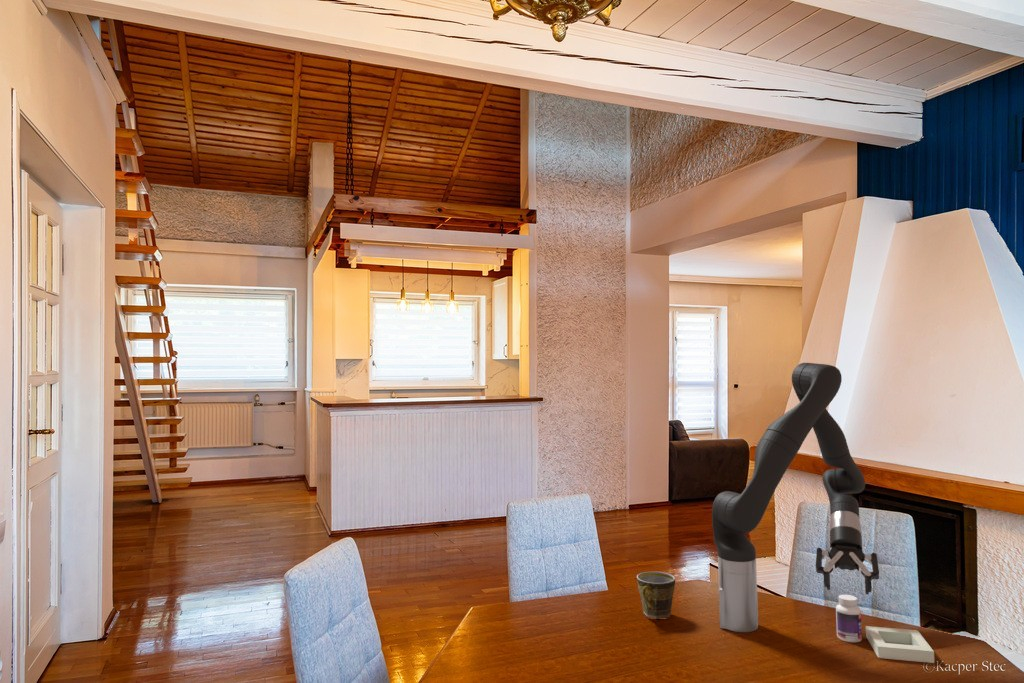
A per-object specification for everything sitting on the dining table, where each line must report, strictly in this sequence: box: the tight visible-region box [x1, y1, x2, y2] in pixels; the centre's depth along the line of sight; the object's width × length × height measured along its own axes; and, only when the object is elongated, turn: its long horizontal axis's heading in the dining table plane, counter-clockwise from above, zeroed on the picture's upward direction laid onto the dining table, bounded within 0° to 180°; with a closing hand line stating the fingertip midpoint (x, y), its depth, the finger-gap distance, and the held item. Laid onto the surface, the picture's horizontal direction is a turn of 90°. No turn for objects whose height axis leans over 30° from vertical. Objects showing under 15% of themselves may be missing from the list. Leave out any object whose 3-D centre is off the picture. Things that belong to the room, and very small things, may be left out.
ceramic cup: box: [636, 571, 676, 619], centre depth 175 cm, size 13×10×10 cm
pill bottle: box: [835, 594, 863, 643], centre depth 159 cm, size 5×5×10 cm
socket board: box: [865, 625, 935, 664], centre depth 153 cm, size 11×12×2 cm
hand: (847, 590), depth 164 cm, fingers open, 8 cm apart
